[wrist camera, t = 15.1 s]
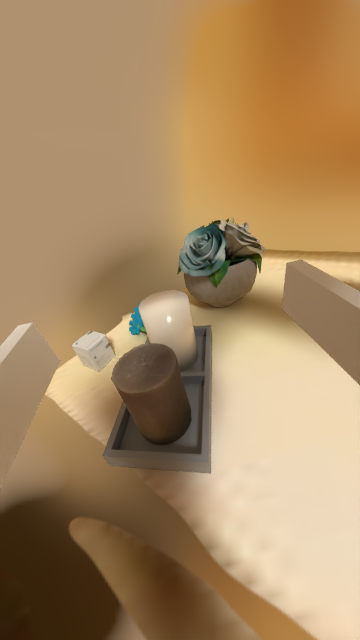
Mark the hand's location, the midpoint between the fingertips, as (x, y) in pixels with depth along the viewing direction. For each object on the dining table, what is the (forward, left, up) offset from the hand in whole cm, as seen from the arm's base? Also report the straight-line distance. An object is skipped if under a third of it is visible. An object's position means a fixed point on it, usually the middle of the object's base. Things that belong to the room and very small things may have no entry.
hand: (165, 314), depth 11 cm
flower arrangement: (-2, -52, -31) cm, 60 cm away
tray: (+9, -19, -30) cm, 37 cm away
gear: (+21, -39, -31) cm, 54 cm away
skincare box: (+30, -27, -31) cm, 50 cm away
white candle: (+9, -26, -29) cm, 40 cm away
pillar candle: (+9, -11, -30) cm, 33 cm away
